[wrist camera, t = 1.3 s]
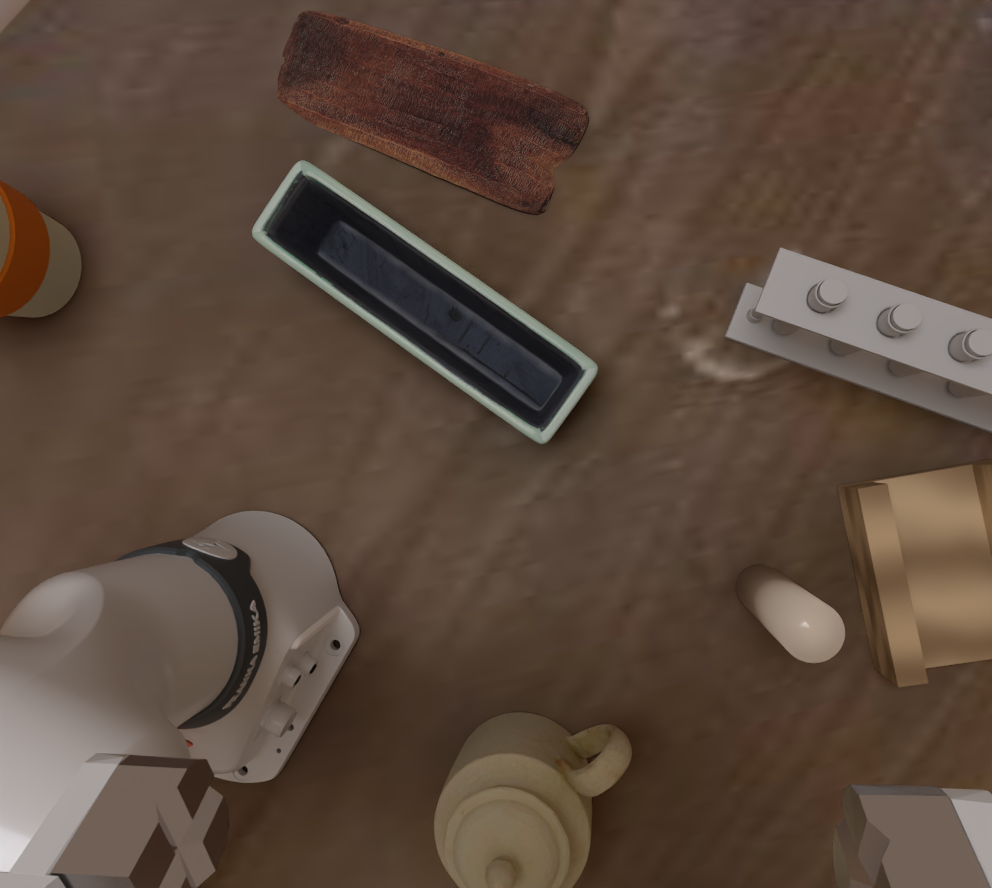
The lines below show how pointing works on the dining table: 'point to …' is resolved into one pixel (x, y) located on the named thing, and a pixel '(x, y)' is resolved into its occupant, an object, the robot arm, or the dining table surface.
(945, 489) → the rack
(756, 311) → the test tube rack
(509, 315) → the planter
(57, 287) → the reusable coffee cup
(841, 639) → the clay rod
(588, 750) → the sugar bowl
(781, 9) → the dining table surface
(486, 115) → the wooden tablet
